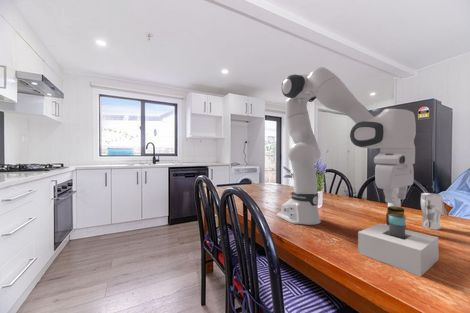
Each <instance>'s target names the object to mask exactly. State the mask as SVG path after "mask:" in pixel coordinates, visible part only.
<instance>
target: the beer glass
mask: <svg viewBox="0 0 470 313" xmlns="http://www.w3.org/2000/svg"><path fill="white" fill-rule="evenodd" d="M442 198H443V197H442V194H439V193H431V192H421V193H420V208H421V214H422V223H421V227H422V228H424V229H427V230H434V231H439V230H441V229H442V228H441V224H440V220H441V214H442V209H443V199H442Z"/></svg>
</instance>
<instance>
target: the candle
mask: <svg viewBox="0 0 470 313" xmlns="http://www.w3.org/2000/svg"><path fill="white" fill-rule="evenodd" d="M398 191H399V188H394V189H393V192H392V194H393V197H394V202H393V203H387V208H388V207H389V206H395V207H401V206H402V204H401V200H402V199H398V198H397V194H398ZM401 208H402V207H401ZM385 225H386V223H385Z"/></svg>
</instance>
